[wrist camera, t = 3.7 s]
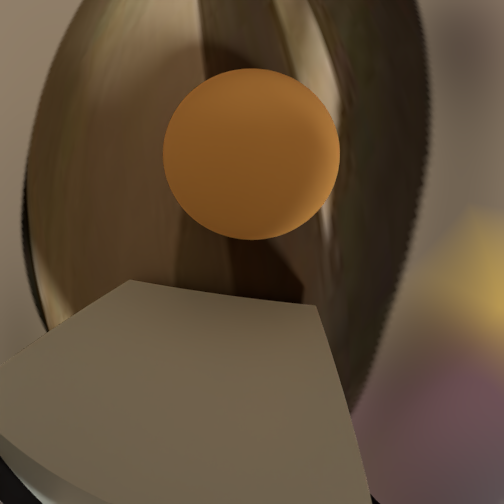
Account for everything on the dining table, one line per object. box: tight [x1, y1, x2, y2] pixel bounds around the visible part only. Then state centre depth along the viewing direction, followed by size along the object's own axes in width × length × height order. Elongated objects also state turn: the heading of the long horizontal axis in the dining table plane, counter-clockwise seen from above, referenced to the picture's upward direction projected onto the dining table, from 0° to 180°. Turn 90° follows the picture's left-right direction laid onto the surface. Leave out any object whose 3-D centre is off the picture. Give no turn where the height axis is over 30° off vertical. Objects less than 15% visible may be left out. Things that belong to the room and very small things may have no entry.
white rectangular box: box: [0, 280, 372, 504], centre depth 7 cm, size 8×8×9 cm
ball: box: [163, 69, 340, 240], centre depth 8 cm, size 5×5×5 cm
